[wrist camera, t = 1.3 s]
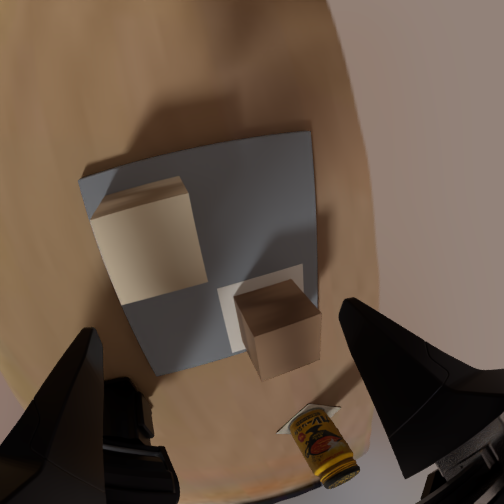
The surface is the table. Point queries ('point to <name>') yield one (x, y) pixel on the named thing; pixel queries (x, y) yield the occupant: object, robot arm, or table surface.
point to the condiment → (322, 445)
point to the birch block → (149, 240)
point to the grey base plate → (224, 239)
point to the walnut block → (279, 328)
